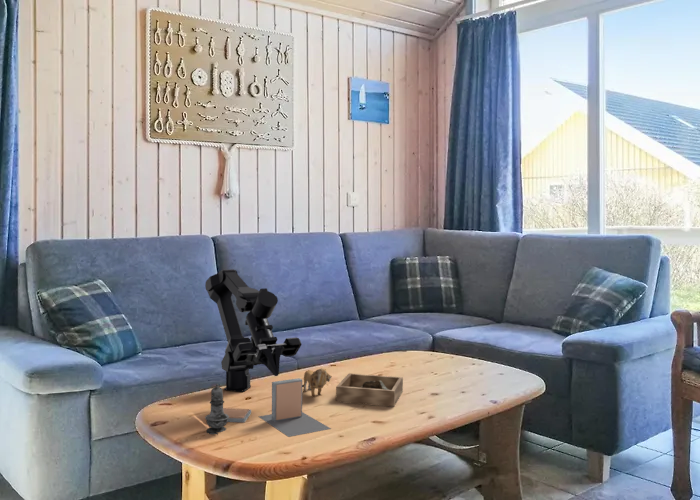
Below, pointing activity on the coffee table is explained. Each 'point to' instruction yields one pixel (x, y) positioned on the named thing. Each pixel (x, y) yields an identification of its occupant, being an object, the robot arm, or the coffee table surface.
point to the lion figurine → (316, 380)
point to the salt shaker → (216, 412)
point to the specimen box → (369, 390)
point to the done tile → (237, 414)
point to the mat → (296, 425)
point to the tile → (286, 399)
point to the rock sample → (374, 385)
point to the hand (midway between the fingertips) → (276, 375)
